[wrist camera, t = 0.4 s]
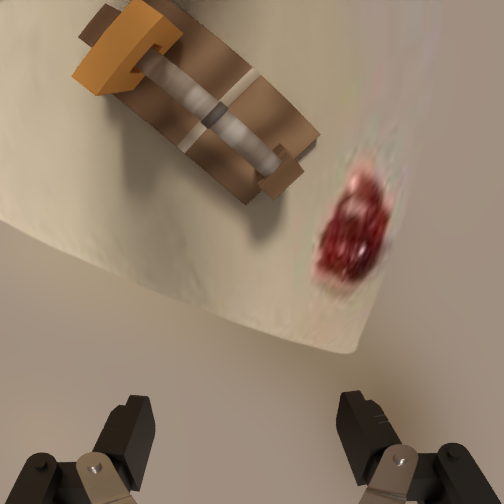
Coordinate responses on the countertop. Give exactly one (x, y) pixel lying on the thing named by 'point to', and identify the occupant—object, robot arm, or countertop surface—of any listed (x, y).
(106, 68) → the collar
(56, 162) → the countertop surface
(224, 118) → the pipe stand
